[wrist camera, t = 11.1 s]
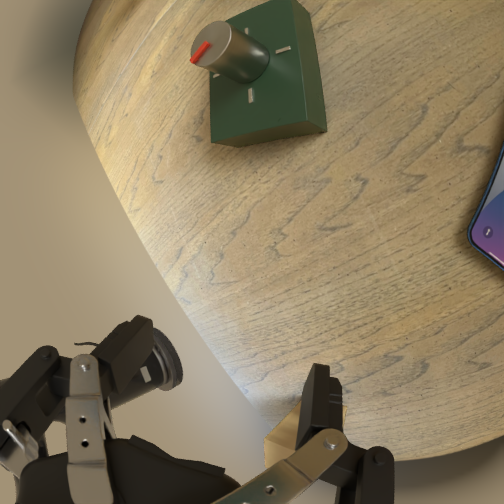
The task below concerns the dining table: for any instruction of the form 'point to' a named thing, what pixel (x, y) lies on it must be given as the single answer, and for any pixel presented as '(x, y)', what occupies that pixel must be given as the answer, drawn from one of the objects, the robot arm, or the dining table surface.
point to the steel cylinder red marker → (229, 52)
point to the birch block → (284, 437)
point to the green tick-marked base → (271, 81)
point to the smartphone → (490, 217)
